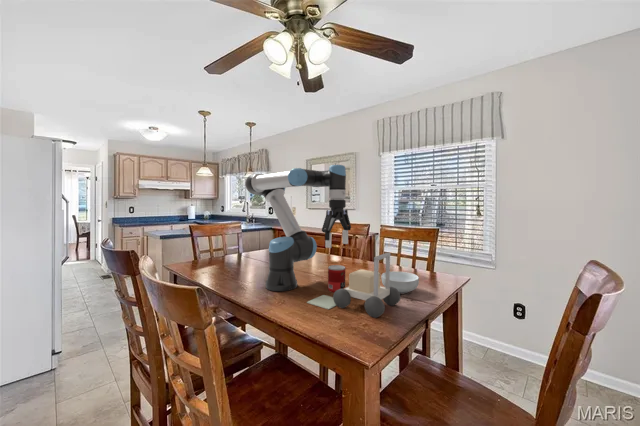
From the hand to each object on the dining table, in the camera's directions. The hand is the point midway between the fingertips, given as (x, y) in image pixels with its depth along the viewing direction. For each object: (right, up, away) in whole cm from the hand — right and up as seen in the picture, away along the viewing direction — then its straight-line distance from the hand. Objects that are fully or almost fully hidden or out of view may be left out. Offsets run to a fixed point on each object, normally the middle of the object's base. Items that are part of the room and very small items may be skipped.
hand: (337, 245), depth 127 cm
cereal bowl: (+29, -21, +1) cm, 36 cm away
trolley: (+11, -22, -18) cm, 30 cm away
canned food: (0, -21, +1) cm, 21 cm away
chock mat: (-5, -22, -14) cm, 26 cm away
